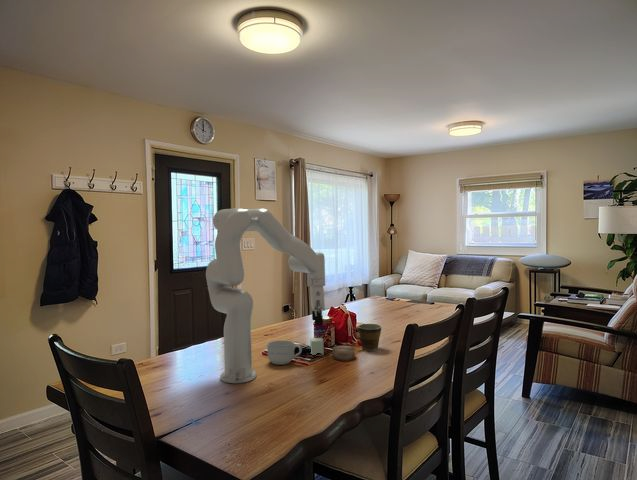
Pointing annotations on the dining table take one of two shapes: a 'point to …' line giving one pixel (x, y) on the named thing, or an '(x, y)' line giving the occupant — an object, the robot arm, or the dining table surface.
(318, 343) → the sage block
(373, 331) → the ceramic cup
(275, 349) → the teacup
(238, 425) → the dining table surface
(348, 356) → the brown round dish
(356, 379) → the dining table surface
